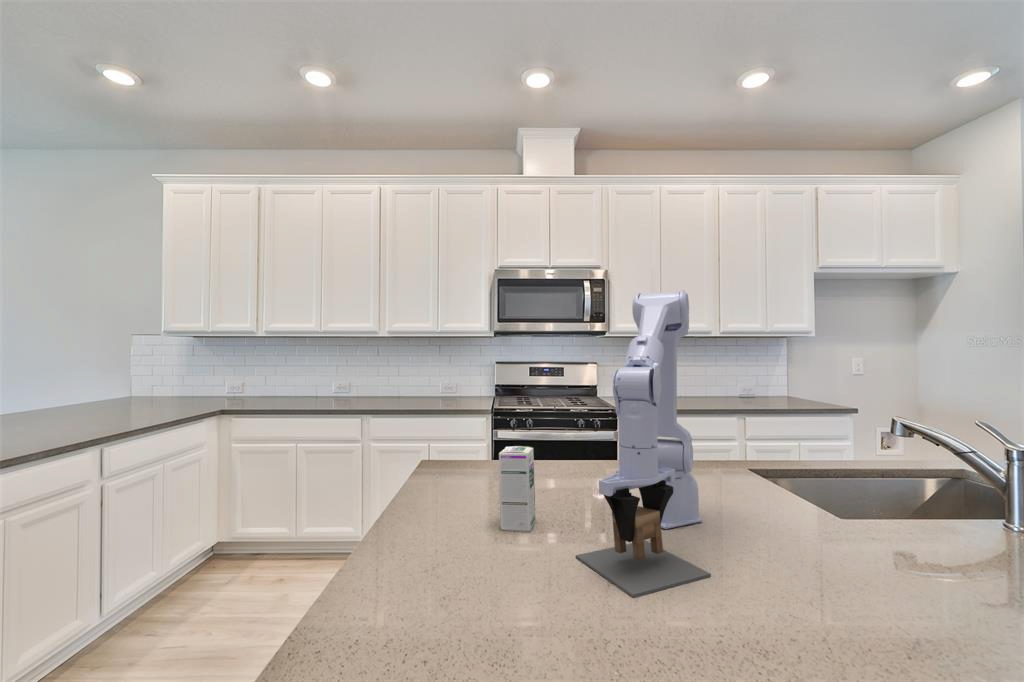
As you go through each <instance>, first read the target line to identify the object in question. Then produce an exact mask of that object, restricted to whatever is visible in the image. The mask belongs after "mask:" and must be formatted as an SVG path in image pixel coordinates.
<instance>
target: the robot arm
mask: <svg viewBox="0 0 1024 682" xmlns="http://www.w3.org/2000/svg"><path fill="white" fill-rule="evenodd" d="M632 318H633V321H634V323H635V326H636V327H637V330H638V335H637V336H635V337H634V338H632V339H631V340H630V343H629V344H628V348H627V351H626V355H625V358H624V361H623V365H622V366H621V367H620V368H619V369H616V370H614V373H613V378H612V393H613V395H612V396H613V400H614V405H615V407H614V408H615V414H616V415H617V417H618V419H617V420H618V469H616V470H615V473H614V474H612V475H610V476H608V477H605V478H602V479H599V480H598V494H600V495H603V497H604V498H605V500H606V502H607V504H608V506H609V508H610V510H611V513H612V512H613V515H614V518H615V521H616V524H617V528H618V532H619V536H620V538H621V539H623V540H625V541H626V542H628V543H632V541H633V538H634V526H635V515H636V510H637V506H639V503H640V500H641V502H642V507H644V508H649V509H653V510H657V511H659V512H660V523H661V529H664V530H667V529H672V528H677V527H682V526H687V525H692V524H696V523H701V522H703V518H701V517H700V514H699V513H700V508H699V505H700V504H699V502H700V501H699V485H698V482H697V480H696V478H695V477H694V475H693V474H691V472H692V471H693V468H694V448H693V447H694V446H693V437H692V435H691V433H690V431H688V430H687V429H686V428H684V426H682V425H681V424H679V423H678V420H677V419H678V418H677V416H678V412H677V411H678V409H677V408H678V403H677V402H678V401H677V400H678V399H677V398H678V397H677V395H678V392H677V389H678V387H677V386H678V385H677V384H678V383H677V381H678V379H677V378H678V377H677V375H678V372H677V371H678V369H677V367H678V362H677V361H678V359H677V358H678V354H677V353H678V351H677V350H678V347H679V346H678V345H679V342H680V339H682V338H683V337H685V336H687V335H688V332H689V329H690V301H689V295H688V293H687V292H686V291H685V290H680V291H669V292H668V291H665V292H654V293H636V294H635V296H633V300H632ZM663 438H664V439H663ZM665 438H675V439H676V440H675V439H665ZM677 439H678V440H677ZM635 489H638V490H639V495H640V497H638V496H635V495H632V492H630V490H635Z"/></svg>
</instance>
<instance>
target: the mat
mask: <svg viewBox="0 0 1024 682" xmlns="http://www.w3.org/2000/svg"><path fill="white" fill-rule="evenodd" d="M644 549H645V558H644V559H641V560H638V559H635V558H633V548H632V542H630V543H628V544H627V543H626V551H627V552H624V553H618V552H615V546H613V547H609V548H608V547H607V548H604V549H599V550H595V551H593V550H592V551H590V552H585V553H580V554H576V555H575V558H576V560H578V561H579V562H581V563H582V564H584V565H585V566H587V567H588V568H590V569H591V570H592V571H594V572H595V573H596V574H598V575H600V576H601V577H602V578H604V579H605V580H607V581H608V582H609V583H611V584H613V585H614V586H615V587H616V588H618V589H619V590H621V591H622V592H623V593H625V594H627V595H628V596H629V597H631V598H633V599H634V598H638V597H641V596H645V595H649V594H652V593H655V592H660V591H663V590H667V589H670V588H675V587H679V586H680V585H681V586H682V585H685V584H688V583H692V582H696V581H699V580H703V579H707V578H711V576H712V573H710V572H708V571H706V570H704V569H703V568H701V567H699V566H698V565H695V564H693V563H690V562H688V560H684V559H683V558H682V557H679V556H677V555H675V554H673V553H672V552H669V551H667V550H666V549H663V552H662V553H659V554H656V553H653V552H651V541H648V540H647V539H646V540H644Z"/></svg>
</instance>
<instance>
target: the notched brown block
mask: <svg viewBox="0 0 1024 682" xmlns="http://www.w3.org/2000/svg"><path fill="white" fill-rule="evenodd" d="M611 517H612V528H613V529H612V530H613V540H614V541H613V542H614V547H615V552H618V553H624V552H627V551H626V544H627V543H626V542H627V541H625V540H623V539H621V538H620V536H619V532H618V528H617V524H616V521H615V518H614V515H613V512H612V511H611ZM649 539H650V541H649V542H650V543H651V552H653V553H656V554H659V553H662V552H663V550H664V548H663V547H664V545H663V536H662V528H661V523H660V512H659V511H657V510H653V509H649V508H644V507H643V506H640V505H638V506H637V510H636V515H635V526H634V538H633V541H632V542H631V543H632V548H633V558H635V559H638V560H641V559H644V558H645V549H644V541H645V540H646V541H647V540H649Z"/></svg>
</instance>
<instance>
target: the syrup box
mask: <svg viewBox="0 0 1024 682" xmlns="http://www.w3.org/2000/svg"><path fill="white" fill-rule="evenodd" d="M534 458H535V456H534V447H532V446H527V445H526V446H524V445H514V446H505V447H504V449H502V450H501V451H500V452H499V453H498V463H499V464H498V467H499V468H498V471H499V473H498V474H499V476H498V477H499V479H498V480H499V504H500V505H499V509H500V510H499V511H500V512H499V513H500V516H499V517H500V519H499V520H500V521H499V522H500V529H501V530H502V531H510V532H528V533H530V532H531V530H532V528H533V527H534V524H535V523H536V495H535V494H536V491H535V490H536V489H535V465H534V464H535V461H534Z"/></svg>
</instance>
